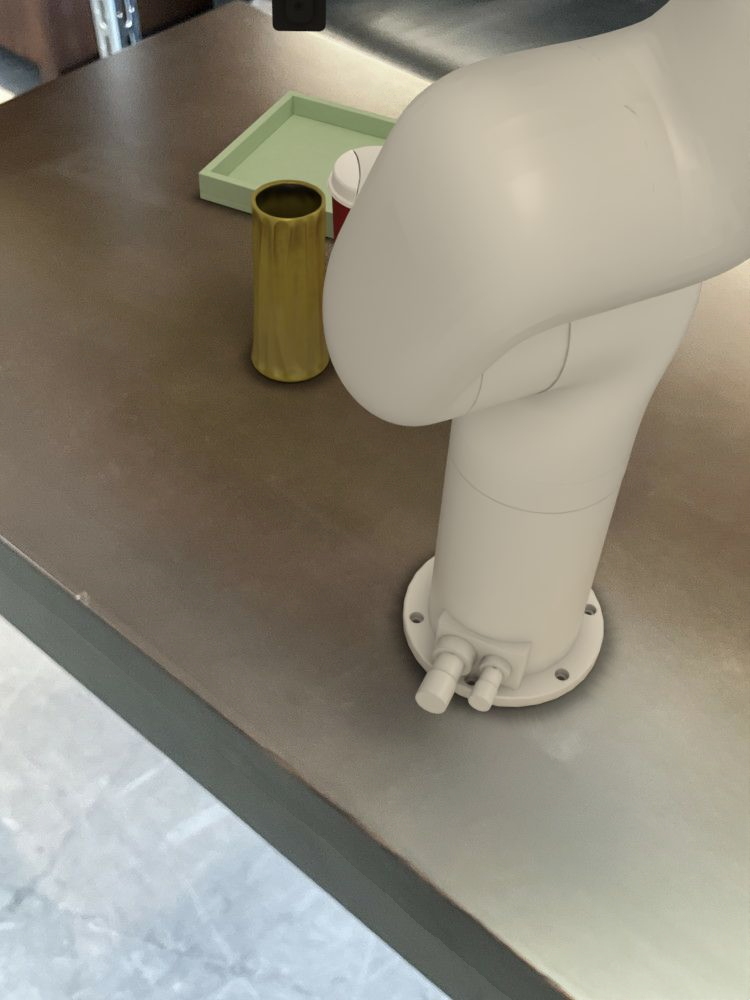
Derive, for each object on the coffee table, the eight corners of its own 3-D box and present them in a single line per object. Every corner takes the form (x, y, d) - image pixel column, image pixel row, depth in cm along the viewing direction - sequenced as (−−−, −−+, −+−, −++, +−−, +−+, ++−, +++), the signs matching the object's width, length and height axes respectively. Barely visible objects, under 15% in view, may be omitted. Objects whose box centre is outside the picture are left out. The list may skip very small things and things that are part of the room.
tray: (354, 245, 101) (355, 219, 99) (200, 198, 105) (198, 173, 103) (432, 153, 112) (434, 129, 110) (289, 114, 116) (289, 89, 114)
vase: (344, 352, 91) (349, 193, 80) (300, 394, 87) (299, 233, 77) (281, 324, 93) (278, 166, 82) (235, 364, 89) (226, 204, 79)
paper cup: (410, 360, 90) (423, 205, 80) (315, 344, 91) (316, 189, 81) (427, 301, 95) (441, 148, 85) (337, 287, 96) (340, 134, 86)
